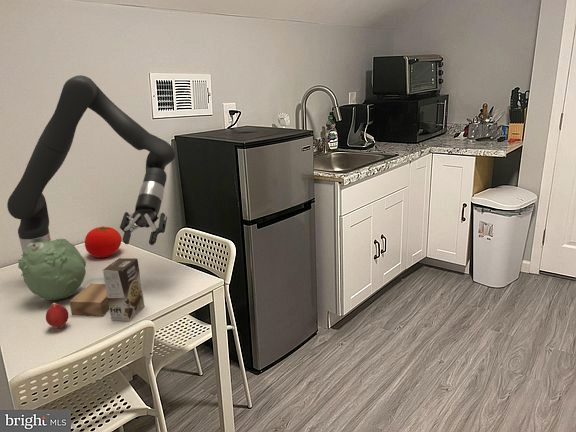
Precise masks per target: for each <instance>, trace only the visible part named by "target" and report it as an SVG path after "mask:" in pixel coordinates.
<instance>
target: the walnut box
mask: <svg viewBox="0 0 576 432" xmlns="http://www.w3.org/2000/svg"><path fill="white" fill-rule="evenodd" d="M68 303H69V307H70V313H71V316H72V317H73V316H74V317H75V316H78V317H102V318H104V317H105V315H106V314H107V313H108V312H110V310H109V304H108V298H107V292H106V286H105V283H90V284H88V285H87V286H86V287H85V288H84V289H82V290H81V291H80V292H79V293H78V294H76V295H75V296H74V297H72V298H71V299H69V302H68Z"/></svg>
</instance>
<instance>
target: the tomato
mask: <svg viewBox="0 0 576 432" xmlns="http://www.w3.org/2000/svg"><path fill="white" fill-rule="evenodd" d="M122 242H123V237H122V235H121V233H119V231H118V230H117V229H116V228H114V227H110V226H105V225H104V226H98V227H94V228H93V229H91V230H89V231H88V233H87V234H86V235H85V237H84V247H85V250H86V252H87V253H88V254H90V256H93V257H95V258H98V259H99V258H100V259H101V258H107V257H110V256H112V255H113V254H115V253H116V252H117V251H118V250H119V249H120V246H121V244H122Z"/></svg>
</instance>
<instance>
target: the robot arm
mask: <svg viewBox="0 0 576 432" xmlns="http://www.w3.org/2000/svg"><path fill="white" fill-rule="evenodd" d="M87 109H89V110H91V111H93V112H94V113H96V114H97V115H98V116H99V117H100V118H102V119H103V120H104V121H105V122H106V123H107V124H108V125H109V127H111V129H112V130H113V131H114V132H115V134H117V135H118V136H119V137H121V138H122V140H124V141H125V142H126V143H128V144H129V145H130V146H131V147H133V148H134V149H136V150H137V151H143V150H144V151H145V150H146V151H147V152H149V153H148V154H147V157H146V159H145V174H144V177H143V180H142V181H143V182H142V184H141V186H140V189H139V192H138V196H137V200H136V203H135V209H134V212H133V213H129V212H128V211H127V212H126V211H125V212H124V213H123V217H122V220H121V223H120V225H119V229H120V230H121V231H122V232H124V233H123V237H122V242H123V243H124V244H125V245H129V244H130V240H131V237H132V233H133V232H134V231H136V230H137V229H138V228H150V229H151V230H152V231H151V232H150V235H149V239H148V244H149V245H150V246H155V245H154V244H156V242H157V240H158V235H159V234H164V233H165V232H166V227H167V221H168V216H167V215H166V213H165V212H161V211H160V210H161V205H162V201H163V199H164V191H165V186H166V183H167V178H168V177H167V176H168V175H167V173H166V171H165V169H166V167H167V166H168V165H169V164H170V163H172V162H173V161H174V160H175V158H176V151H175V149H174V147H173V146H172V145H171V144H170V143H169V142H168V141H166V140H164V139H162V138H160V137H158V136H157V135H154V134H152V133H150V132H149V131H147V130H146V129H145V128H144V127H143V126H141V125H140V124H139V123H138V122H137V121H136V120H134V119H133V118H132V117H130V116H129V115H128V114H127V113H126V112H125V111H123V110H122V109H121V108H120V107H118V106H117V105H116V104H115V103H114V102H113V101H112V100H111V99H110V98H109V97H108V96H107V95H106V94H105V93H104V92H103V91H102V90H101V88H99V86H98V85H97V84H96V83H95V82H94V80H92V79H91V78H90V77H88V76H86V75H75V76H72V77H70V78H68V80H66V81H65V82H64V84H63V86H62V90H61V93H60V95H59V99H58V101H57V105H56V107H55V110H54V112H53V115H52V116H51V117H50V119H49V121H48V122H47V124H46V126H45V127H44V129H43V130H42V133H41V135H40V136H39V138H38V140H37V143H36V144H35V146H34V148H33V151H32V154H31V156H30V158H29V160H28V163H27V164H26V167H25V169H24V172H23V175H22V177H21V179H20V180H19V182H18V183H17V185H16V186H15V188H14V190H13V191H12V192H11V194H10V195H9V198H8V200H7V204H6V205H7V206H6V208H7V211H8V213H9V214H10V215H11V217H12V218H14V219H16V220H20V224H19V226H18V228H17V234H18V238H19V239H18V240H19V244H20V247H21V252H22V253H23V251H24V250H26V247H27V245H29V244H30V243H36V242H45V241H48V240H50V241H52V238H51V234H50V230H49V226H50V218H49V210H48V204H47V200H46V197H45V195H44V194H43V192H44V189H45V188H46V187H47V185H48V184H49V182H50V181H51V180H52V178H53V177H54V176H55V175H56V173H58V171H59V170H60V168H62V165H63V164H64V162H65V160H66V159H67V158H66V157H67V156H68V154H69V152H70V151H71V150H70V149H71V147H72V145H73V142H74V139H75V133H76V129H77V127H78V125H79V122H80V120H81V119H82V118H83V116H84V114H85V112H87ZM160 212H161V213H160ZM159 213H160V214H159ZM157 220H159V221H158V227H157V225H156V223H155V222H157Z"/></svg>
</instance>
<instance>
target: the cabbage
mask: <svg viewBox="0 0 576 432" xmlns="http://www.w3.org/2000/svg"><path fill="white" fill-rule="evenodd" d="M21 256H22V257H21V258H19V259H18V262H17V264H18V266H17V267H18V269H20V270H21V272H22V274H21V275H20V276H21V277H23V282H24V284H25V285H26V287H27V288H28V289H29V291H31V292H32V293H33V294H34V295H35V296H37V297H39V298H41V299H43V300H49V301H60V300H63V299H66V298H69V297H70V296H72V295H73V294H75V293H76V292H77V291H78V290H79V289H80V288H81V286H82V284H83V282H84V280H85V276H86V273H87V271H86V265H87V261H86V260H85V259H84V257H83V256H82V255H81V252H80V251H79V250H78V248H77V247H76V246H75V245H74V244H73V243H71V242H70V241H69V240H67V239H66V238H59V239H58V238H57V239H53V240H51V241H50V240H48V241H45V242H36V243H30V244H29V245H27V247H26V250H24V251H23V252H22V254H21Z"/></svg>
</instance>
